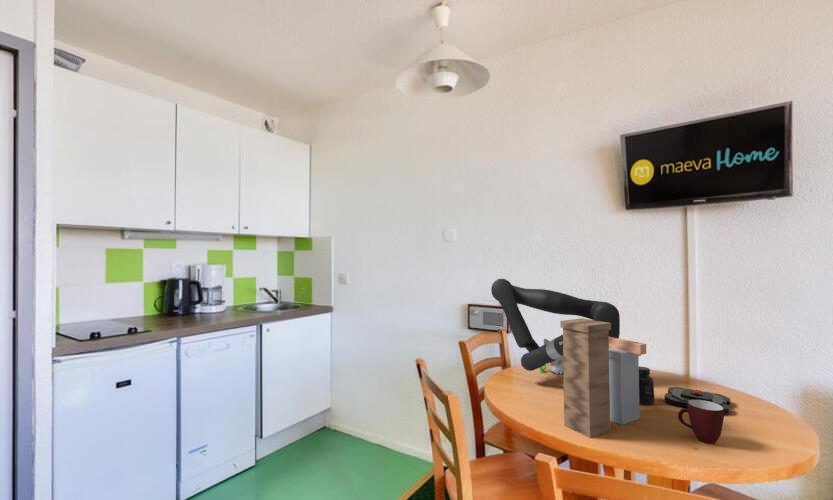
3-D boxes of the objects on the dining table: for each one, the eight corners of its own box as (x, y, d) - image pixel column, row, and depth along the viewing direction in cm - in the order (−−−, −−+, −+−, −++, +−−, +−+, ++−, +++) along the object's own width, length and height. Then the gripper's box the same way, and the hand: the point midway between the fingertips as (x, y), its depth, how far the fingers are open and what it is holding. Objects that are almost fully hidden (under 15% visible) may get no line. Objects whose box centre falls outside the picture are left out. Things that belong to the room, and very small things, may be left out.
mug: (675, 438, 107) (675, 403, 107) (680, 429, 113) (679, 395, 113) (723, 451, 100) (722, 413, 100) (725, 440, 106) (724, 404, 106)
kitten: (543, 375, 165) (542, 341, 165) (535, 369, 175) (535, 336, 175) (576, 375, 165) (576, 341, 166) (567, 369, 175) (567, 336, 176)
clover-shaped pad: (663, 405, 132) (662, 392, 132) (670, 391, 146) (669, 379, 146) (729, 419, 120) (729, 405, 120) (730, 403, 134) (730, 390, 134)
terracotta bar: (578, 341, 134) (578, 332, 134) (584, 340, 135) (584, 331, 135) (640, 354, 114) (640, 344, 114) (646, 353, 116) (646, 343, 116)
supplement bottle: (652, 400, 136) (652, 366, 136) (655, 406, 130) (655, 371, 130) (631, 397, 139) (630, 364, 139) (632, 403, 133) (632, 369, 133)
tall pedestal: (561, 425, 116) (560, 320, 117) (583, 418, 121) (582, 318, 121) (590, 438, 107) (588, 325, 108) (612, 431, 112) (610, 322, 112)
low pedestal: (593, 413, 124) (592, 346, 125) (613, 408, 129) (611, 343, 129) (622, 425, 115) (621, 353, 116) (642, 419, 120) (640, 349, 121)
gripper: (543, 339, 141) (574, 323, 129) (569, 335, 147) (601, 319, 135) (551, 359, 137) (584, 344, 125) (578, 354, 144) (611, 340, 132)
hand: (593, 331), depth 130 cm, fingers open, 8 cm apart
